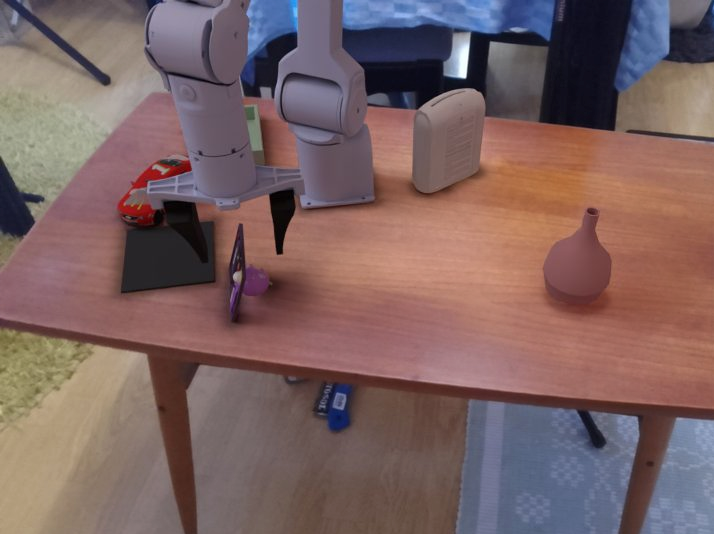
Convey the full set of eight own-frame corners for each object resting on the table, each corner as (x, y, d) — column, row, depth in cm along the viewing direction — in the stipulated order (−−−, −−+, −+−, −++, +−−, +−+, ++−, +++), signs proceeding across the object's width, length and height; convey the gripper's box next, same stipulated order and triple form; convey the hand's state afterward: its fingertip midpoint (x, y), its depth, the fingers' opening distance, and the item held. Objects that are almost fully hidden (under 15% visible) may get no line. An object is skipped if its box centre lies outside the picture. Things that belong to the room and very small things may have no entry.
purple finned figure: (232, 221, 75) (235, 275, 69) (279, 228, 77) (286, 282, 71) (222, 266, 79) (223, 322, 73) (267, 272, 81) (272, 326, 75)
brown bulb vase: (533, 271, 82) (550, 189, 73) (595, 271, 83) (619, 189, 74) (544, 318, 77) (563, 235, 68) (610, 317, 78) (637, 235, 69)
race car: (150, 235, 82) (140, 208, 79) (111, 224, 83) (101, 197, 80) (211, 178, 91) (205, 151, 88) (176, 168, 92) (168, 142, 89)
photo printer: (462, 158, 97) (469, 75, 88) (483, 172, 95) (492, 89, 86) (407, 183, 93) (408, 99, 83) (427, 199, 91) (430, 114, 81)
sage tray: (260, 118, 101) (257, 104, 100) (265, 165, 94) (262, 150, 92) (195, 123, 100) (191, 108, 98) (195, 171, 92) (191, 155, 90)
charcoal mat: (213, 222, 85) (212, 220, 85) (214, 281, 78) (214, 280, 78) (127, 230, 83) (127, 229, 83) (121, 292, 76) (120, 291, 76)
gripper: (131, 171, 59) (169, 286, 69) (302, 157, 61) (315, 269, 71) (135, 128, 63) (171, 242, 73) (294, 116, 66) (308, 227, 76)
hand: (242, 252), depth 73 cm, fingers open, 7 cm apart
